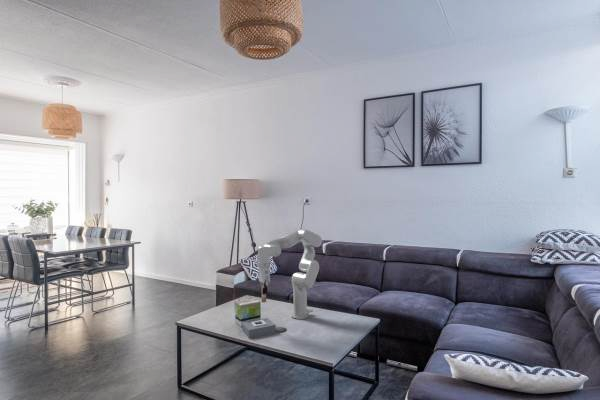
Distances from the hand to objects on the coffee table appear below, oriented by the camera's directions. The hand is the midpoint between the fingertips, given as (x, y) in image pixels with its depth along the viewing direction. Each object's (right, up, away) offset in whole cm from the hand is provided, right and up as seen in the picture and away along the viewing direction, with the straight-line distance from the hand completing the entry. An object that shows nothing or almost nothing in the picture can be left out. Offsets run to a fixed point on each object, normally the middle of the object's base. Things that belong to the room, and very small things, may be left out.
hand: (263, 292), depth 235 cm
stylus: (0, -6, 0) cm, 6 cm away
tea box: (-12, -24, +13) cm, 30 cm away
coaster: (+11, -24, -2) cm, 26 cm away
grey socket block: (-3, -24, -4) cm, 25 cm away
